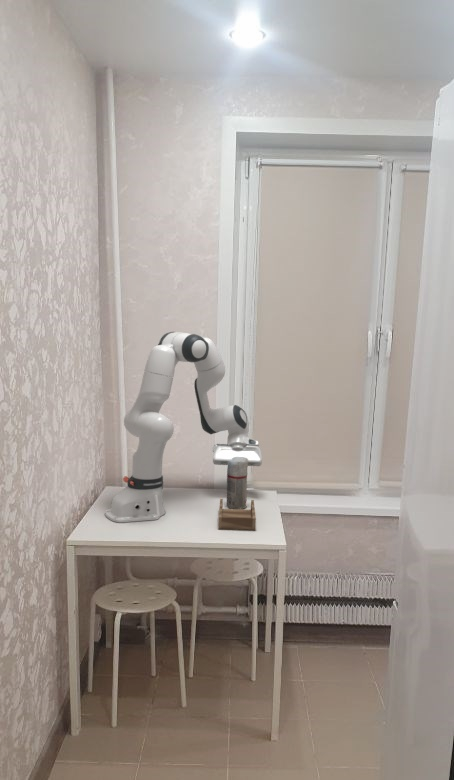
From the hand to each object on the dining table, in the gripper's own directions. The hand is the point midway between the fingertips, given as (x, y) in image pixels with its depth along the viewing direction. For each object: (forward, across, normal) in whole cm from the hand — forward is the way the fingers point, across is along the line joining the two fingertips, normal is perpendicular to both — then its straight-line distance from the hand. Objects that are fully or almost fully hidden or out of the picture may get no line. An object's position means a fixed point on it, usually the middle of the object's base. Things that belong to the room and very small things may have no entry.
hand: (237, 473), depth 243 cm
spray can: (+13, 0, +4) cm, 14 cm away
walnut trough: (+24, 0, -7) cm, 25 cm away
